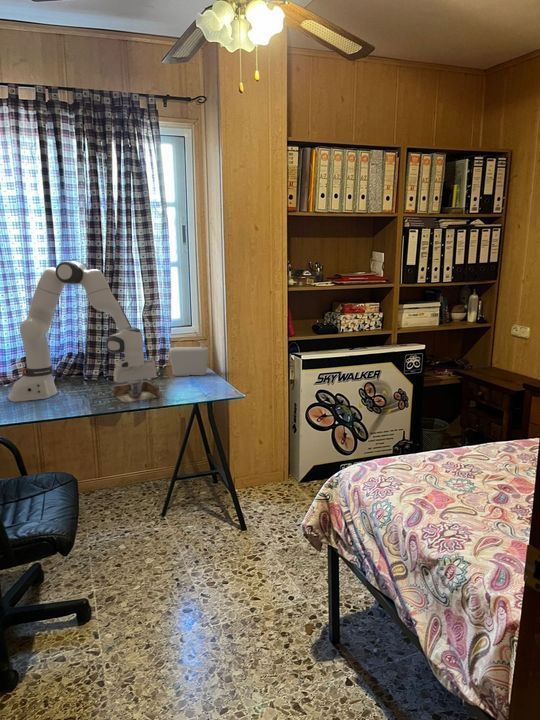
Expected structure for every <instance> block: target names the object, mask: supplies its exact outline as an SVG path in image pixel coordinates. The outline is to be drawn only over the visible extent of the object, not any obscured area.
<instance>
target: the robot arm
mask: <svg viewBox="0 0 540 720" xmlns="http://www.w3.org/2000/svg"><path fill="white" fill-rule="evenodd" d="M66 285H72V286H77V285H81V286H82V287H83V288H84V290H85V294H86V296H87V299H88V300H89V303H90V305H91V306H92V308H93V309H95V310H97V311H98V312H103V313H105V314H107V315H109V316H111V318H112V319H113V321H114V322H115V325H116V327H117V329H118V332H116V333H113V334H110V335H109V336H108V337H107V338H106V340H105V347H106V350H107V351H108V352H109V353H110V354H113V355H118V354H124V357H123V358H121V359H118V360H116V361H115V362H114V365H115V368H114V370H113V380H114V382H115V383H116V384H120V383H121V384H122V383H128V384H130V385H131V389H132V390H134V389H135V386H134V385H133V384H132V383H133V381H135V380H136V381H138V382H140V383H141V385H142V383H143V381H144V380H147V379H153V378H156V376H157V369H156V360H154V359H153V358H149V359H145V354H144V350H143V349H144V348H143V347H144V337H143V333H142V331H141V329H140V328H138V327H133V326H132V325H131V323H130V321H129V319H128V316H127V315H126V313H125V310H124V309H123V308H122V305H121V304H120V302H119V301H118V300H117V299H116V298H115V296H114V294H113V292H112V290H111V288H110V286H109V283H108V281H107V279H106V277H105V275H104V273H103V272H102V271H101V270H99V269H96V268H95V269H94V268H92V269H90V268H89V267H88V265H86V264H85V263H82V262H80V261H75V260H65V261H61V262H59V263H58V265H56V267H47V268H46V269H45V270H44V271H43V272H42V274H41V276H40V278H39V280H38V282H37V285H36V288H35V290H34V293H33V295H32V298H31V301H30V307H29V311H28V314H27V317H26V319H25V320H23V321H22V322H21V324H20V327H19V333H20V335H21V340H22V341H21V342H22V345H23V349H24V352H25V361H26V367H21V368H20V371H21V372H22V374H23V375H22V376H21V377H20V378H19V379H18V380H17V381H15V382H14V384H13V385H12V390H11V393H9V394H8V395H7V399H8V401H10V402H14V403H15V402H16V403H17V402H26V401H35V400H43V399H48V398H50V397H53V396H55V395H57V394H58V390H57V388H56V385H55V380H54V367H53V365H52V358H51V357H52V356H51V349H50V346H49V343H48V338H47V333H48V332H49V331H50V328H51V325H52V321H53V318H54V315H55V312H56V311H55V310H56V308H57V305H58V302H59V300H60V297H61V295H62V291H63V289H64V287H65V286H66Z"/></svg>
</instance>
